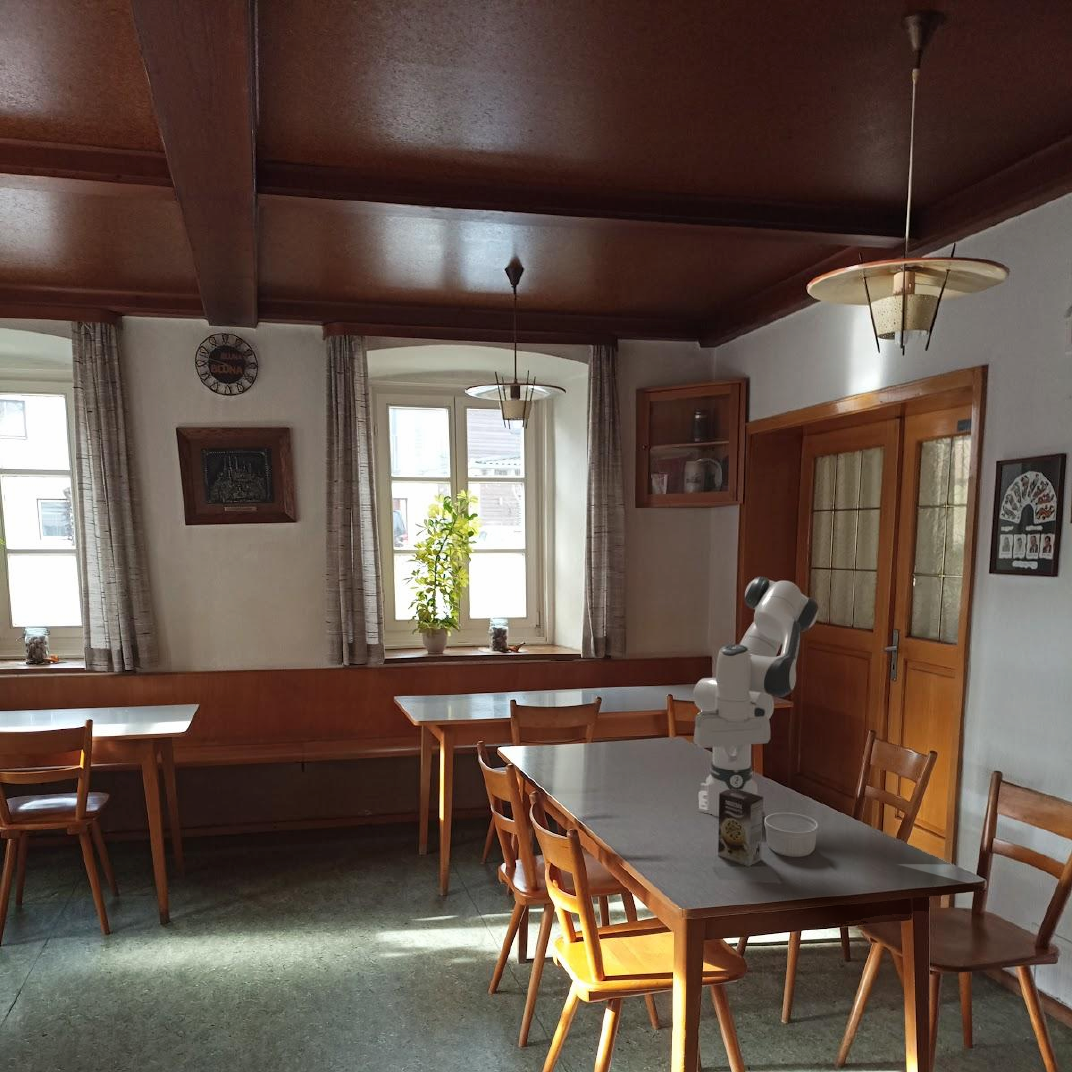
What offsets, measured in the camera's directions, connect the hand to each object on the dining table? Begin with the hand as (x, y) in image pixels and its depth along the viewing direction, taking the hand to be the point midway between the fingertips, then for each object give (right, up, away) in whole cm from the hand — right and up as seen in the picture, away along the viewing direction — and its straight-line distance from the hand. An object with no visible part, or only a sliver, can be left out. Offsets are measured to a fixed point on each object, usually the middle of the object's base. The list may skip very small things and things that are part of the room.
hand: (731, 761), depth 221 cm
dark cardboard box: (0, -22, -8) cm, 23 cm away
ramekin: (+15, -22, -2) cm, 26 cm away
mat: (0, -23, -19) cm, 29 cm away
